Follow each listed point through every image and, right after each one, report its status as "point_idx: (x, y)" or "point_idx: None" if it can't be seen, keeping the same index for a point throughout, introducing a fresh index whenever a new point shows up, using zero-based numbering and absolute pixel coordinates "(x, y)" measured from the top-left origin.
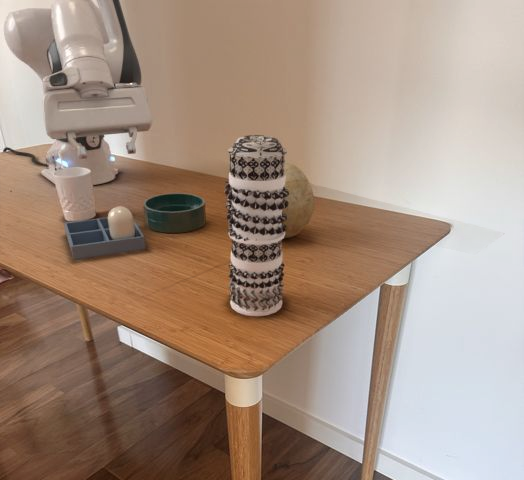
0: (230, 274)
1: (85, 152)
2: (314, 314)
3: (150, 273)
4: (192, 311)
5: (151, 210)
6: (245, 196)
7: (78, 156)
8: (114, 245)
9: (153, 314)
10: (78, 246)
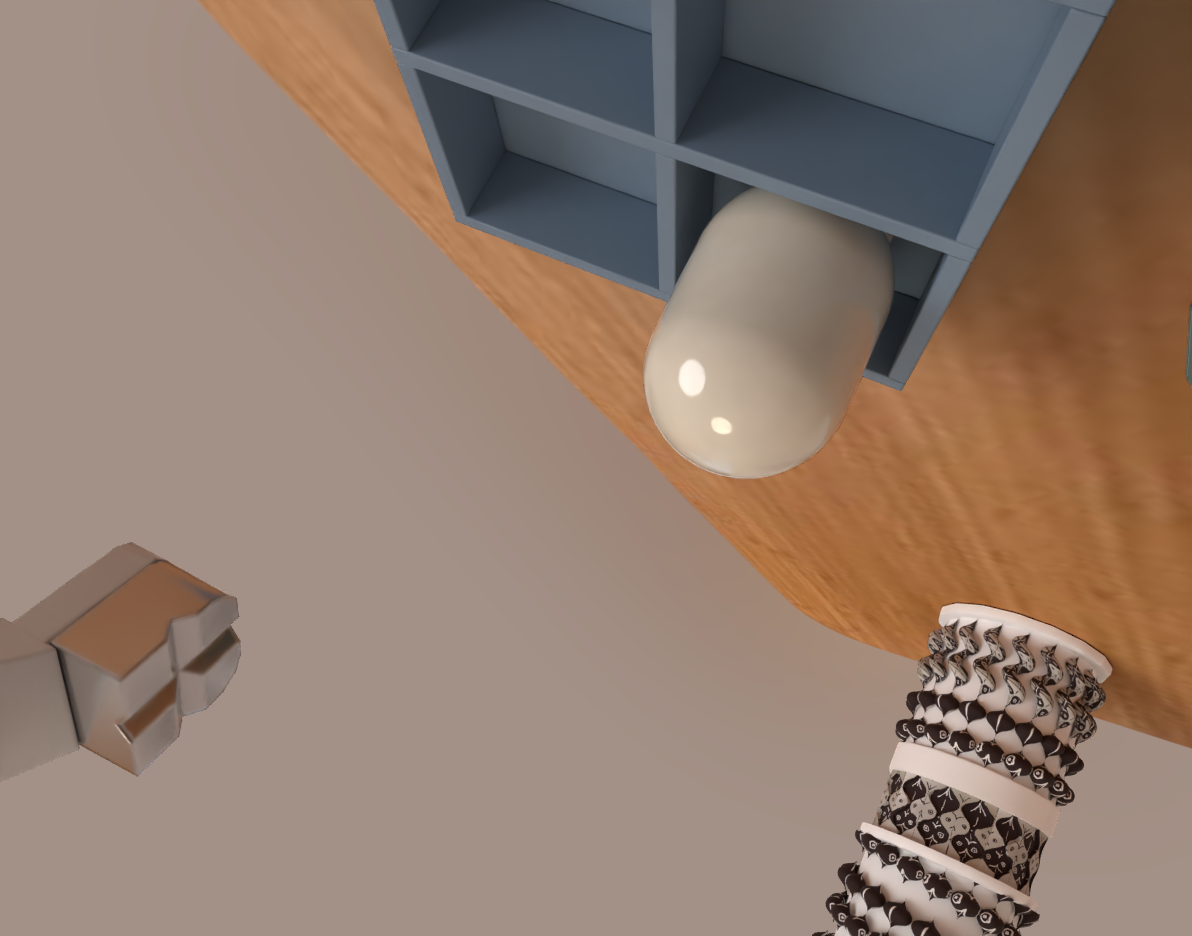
0: (919, 701)
1: (201, 700)
2: (1106, 711)
3: None
4: (837, 551)
5: (1186, 360)
6: None
7: (106, 573)
8: None
9: (734, 500)
10: (496, 232)
